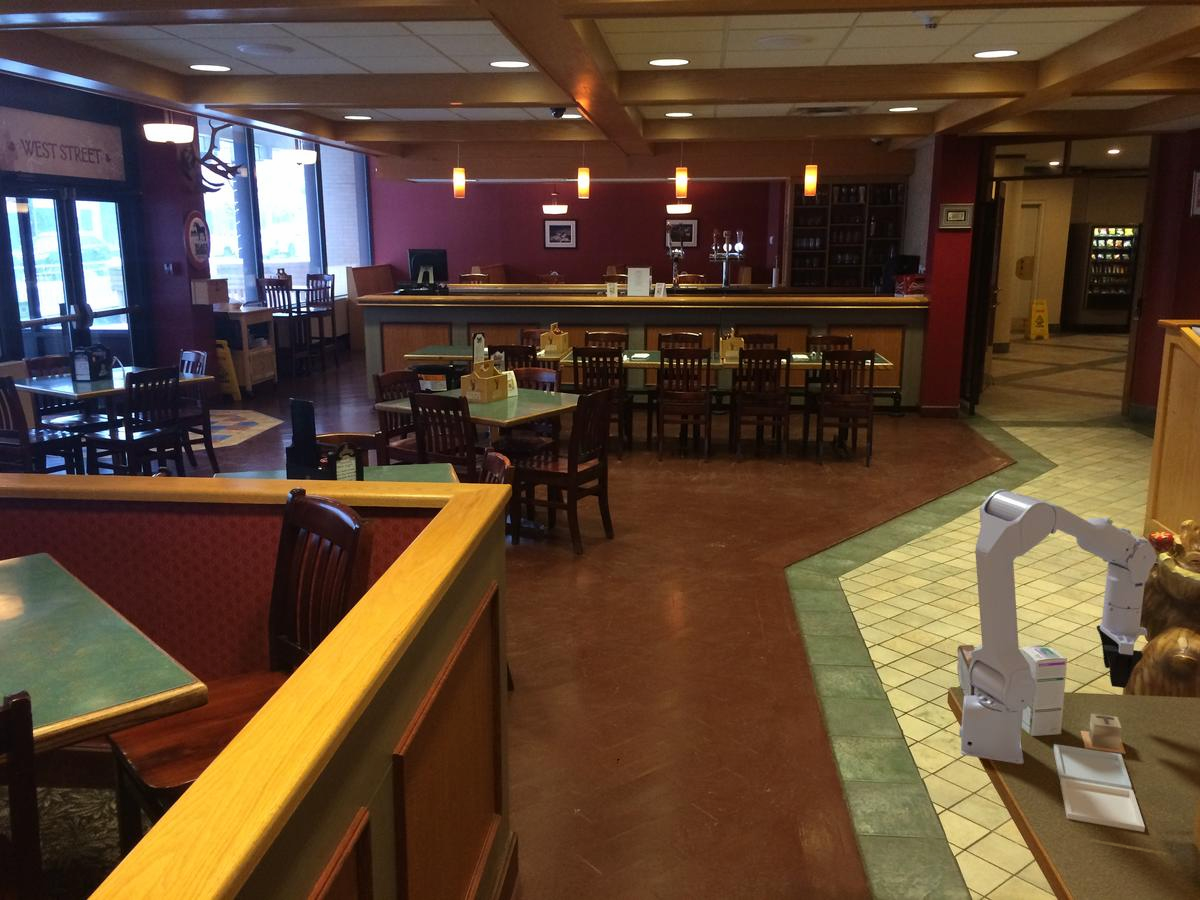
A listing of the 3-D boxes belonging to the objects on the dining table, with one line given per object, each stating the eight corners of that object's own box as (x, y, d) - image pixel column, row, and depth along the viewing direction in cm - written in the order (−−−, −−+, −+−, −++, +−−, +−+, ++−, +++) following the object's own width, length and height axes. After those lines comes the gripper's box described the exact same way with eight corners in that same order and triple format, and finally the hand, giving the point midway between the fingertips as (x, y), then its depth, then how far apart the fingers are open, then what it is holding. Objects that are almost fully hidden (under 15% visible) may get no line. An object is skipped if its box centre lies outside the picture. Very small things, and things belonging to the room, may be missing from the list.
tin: (985, 714, 170) (988, 671, 168) (966, 713, 171) (970, 670, 169) (970, 678, 185) (973, 638, 183) (953, 676, 185) (956, 636, 183)
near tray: (1066, 820, 138) (1067, 813, 138) (1059, 785, 148) (1060, 778, 147) (1143, 834, 135) (1144, 826, 135) (1132, 796, 144) (1132, 789, 144)
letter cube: (1092, 746, 158) (1094, 723, 157) (1088, 734, 162) (1091, 712, 161) (1119, 750, 157) (1121, 727, 156) (1114, 738, 160) (1117, 716, 160)
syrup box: (1062, 736, 162) (1069, 657, 159) (1029, 738, 162) (1036, 659, 159) (1043, 720, 168) (1050, 644, 165) (1012, 722, 167) (1018, 645, 164)
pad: (1084, 749, 158) (1085, 747, 158) (1080, 732, 163) (1080, 730, 163) (1125, 755, 156) (1125, 753, 156) (1119, 738, 161) (1119, 736, 161)
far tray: (1059, 781, 148) (1059, 774, 148) (1053, 750, 158) (1053, 743, 157) (1130, 793, 145) (1131, 786, 145) (1120, 760, 154) (1121, 754, 154)
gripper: (1158, 621, 152) (1148, 698, 155) (1141, 591, 166) (1133, 662, 168) (1109, 616, 155) (1101, 692, 158) (1097, 586, 168) (1089, 657, 171)
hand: (1114, 676), depth 163 cm, fingers open, 7 cm apart
